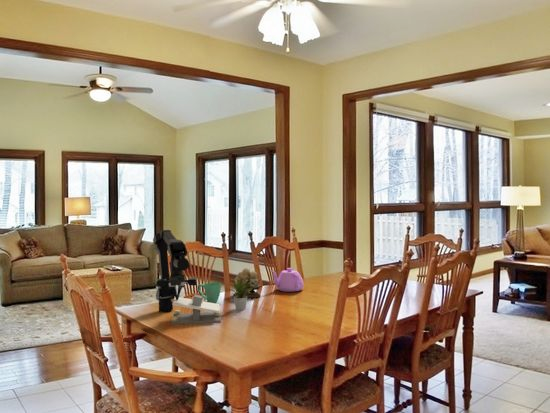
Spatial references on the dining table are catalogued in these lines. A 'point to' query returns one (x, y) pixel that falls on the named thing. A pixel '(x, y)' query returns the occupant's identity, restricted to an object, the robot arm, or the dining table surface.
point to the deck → (203, 305)
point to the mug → (210, 291)
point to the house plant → (240, 294)
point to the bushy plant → (250, 277)
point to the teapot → (288, 280)
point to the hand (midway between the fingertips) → (177, 299)
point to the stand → (195, 317)
